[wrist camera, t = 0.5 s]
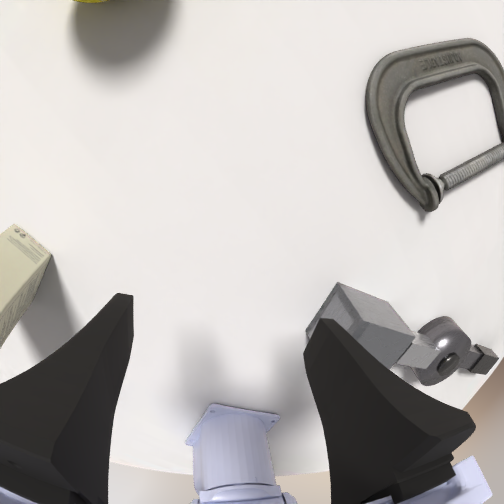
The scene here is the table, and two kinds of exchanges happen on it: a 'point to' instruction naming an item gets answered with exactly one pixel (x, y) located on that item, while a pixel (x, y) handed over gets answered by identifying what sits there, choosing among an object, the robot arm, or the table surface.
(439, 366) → the ratchet
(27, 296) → the skincare box
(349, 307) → the brushed steel cube
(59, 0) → the table surface
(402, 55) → the c clamp
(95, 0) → the tennis ball
